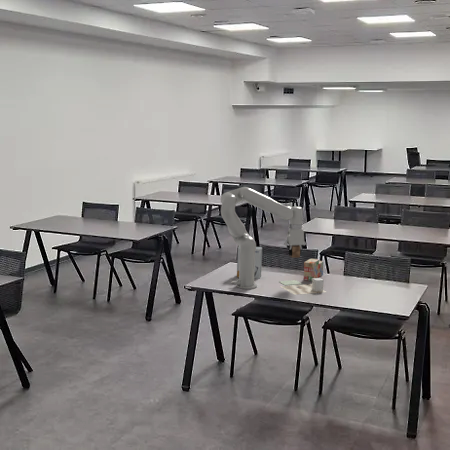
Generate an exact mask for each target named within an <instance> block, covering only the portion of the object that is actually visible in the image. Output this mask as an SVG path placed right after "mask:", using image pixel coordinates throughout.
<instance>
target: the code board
mask: <svg viewBox="0 0 450 450" xmlns="http://www.w3.org/2000/svg"><path fill="white" fill-rule="evenodd" d="M279 286H280V288H281V289H284V290H285V291H288V293H290V294H291V295H294V296H296V295H297V296H298V295H306V294H307V295H308V294H318V293H319V294H320V293H327V291H326V290H324V289H323V291H319V292H315V291H313V290H312V283H307V284H297V285H282V286H281V285H279Z"/></svg>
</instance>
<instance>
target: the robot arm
mask: <svg viewBox="0 0 450 450" xmlns="http://www.w3.org/2000/svg"><path fill="white" fill-rule="evenodd" d="M243 201H244V202H245V203H248V204H249V205H252V206H254V207H256V208H258V209H260V210H263V211H264V212H267V213H269V214H270V213H271V214H272V215H275V216H276V217H278V218H280V219H283V220H285V221H289V224H287V228H288V231H287V234H286V235H287V236H286V240H285V242H283V245H284V246H285V247H286V248H287V249H288V252H287V253H288V256H289V255H290V256H292V250H291V249H292V245H298V246H300V255H301V254H302V249H303V248H304V246H306V245H307V242H306V241H305V231H304V229H303V213H304V212H303V210H304V209H303V207H301V206H286V205H285V204H282V203H280V202H278V201H276V200H274V199H273V198H271V197H270V196H267V195H265V194H263V193H261V192H258V191H256V190H255V189H252V188H250V187H249V186H242V187H239V188H236V189H232V190H230V191H229V190H228V191H226V192H224V193H222V194H221V196H220V203H221V206H220V215H221V218H222V219H223V221H224V222H225V225H226V226H227V231H228V232H229V235H231V238H232V239H233V240H234V242H235V243H236V244H237V246H238V247H240V256H239V277H238V278H237V279H236V280H231V284H232V285H236V287H237V288H238V289H243V290H252V289H256V288H257V286H258V285H257V284H256V283H255V279H254V274H255V251H256V247H257V242H256V241H255V239H254V238H253V237H252V236H250V234H249V233H248V231H247V230H246V226H245V224H244V223H243V221H241V219H240V217H239V216H238V214H237V213H236V206H237V204H238V203H241V202H243ZM290 256H289V257H290Z"/></svg>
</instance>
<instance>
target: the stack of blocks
mask: <svg viewBox="0 0 450 450" xmlns="http://www.w3.org/2000/svg"><path fill="white" fill-rule="evenodd" d="M321 276H324V260H323V261H322V260H320V259H317V258H309V259H307V260H305V261H304V262H303V280H304V281H309V282H310V281H311V282H312V278H321Z"/></svg>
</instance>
